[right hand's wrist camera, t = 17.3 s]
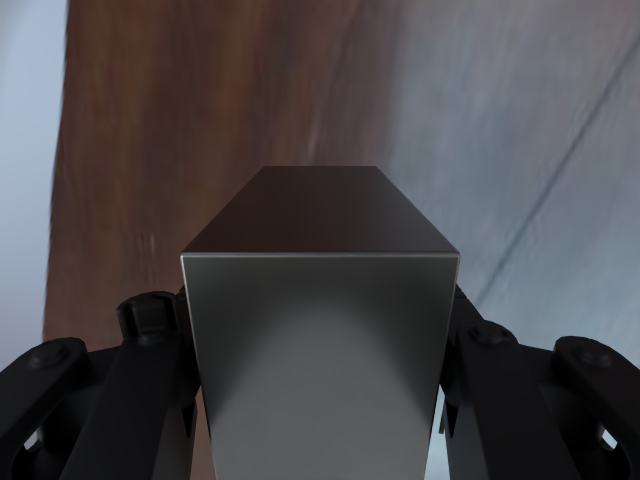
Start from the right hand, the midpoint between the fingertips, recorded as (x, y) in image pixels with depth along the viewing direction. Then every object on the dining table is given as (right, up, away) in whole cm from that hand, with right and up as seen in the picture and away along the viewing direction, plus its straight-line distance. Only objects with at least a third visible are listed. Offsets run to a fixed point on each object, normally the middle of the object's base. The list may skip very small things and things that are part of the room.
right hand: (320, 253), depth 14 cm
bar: (0, -9, +4) cm, 10 cm away
